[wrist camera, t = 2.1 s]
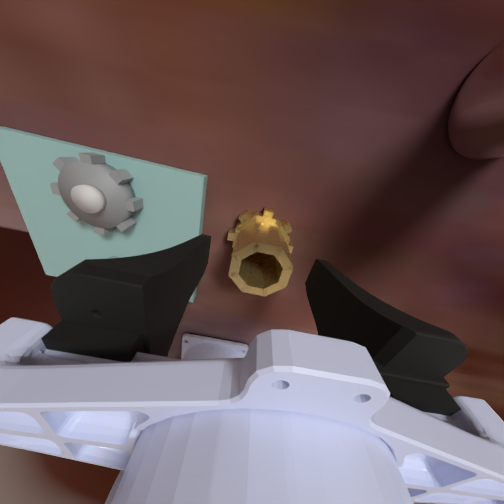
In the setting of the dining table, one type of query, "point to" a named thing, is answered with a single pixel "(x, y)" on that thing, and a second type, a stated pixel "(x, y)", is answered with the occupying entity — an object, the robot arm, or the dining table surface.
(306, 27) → the dining table surface
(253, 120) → the dining table surface
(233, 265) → the planet gear
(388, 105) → the dining table surface
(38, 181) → the carrier plate
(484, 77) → the beer glass
